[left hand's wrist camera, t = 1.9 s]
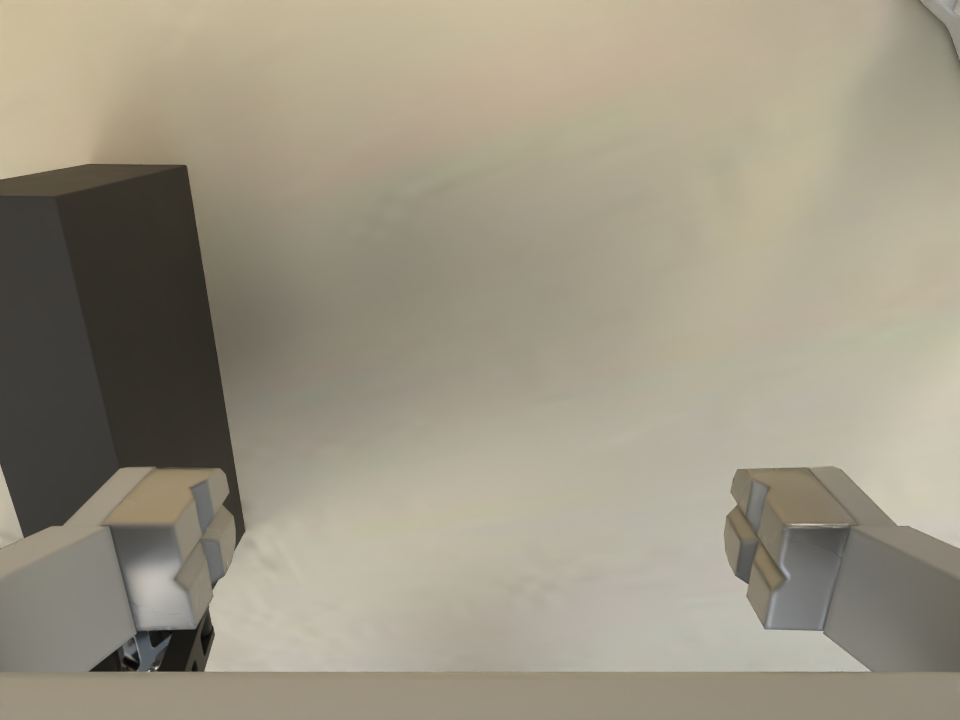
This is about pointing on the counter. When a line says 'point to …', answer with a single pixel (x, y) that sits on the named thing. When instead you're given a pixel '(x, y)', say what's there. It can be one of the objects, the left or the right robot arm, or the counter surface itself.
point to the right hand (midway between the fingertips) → (142, 556)
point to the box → (104, 338)
